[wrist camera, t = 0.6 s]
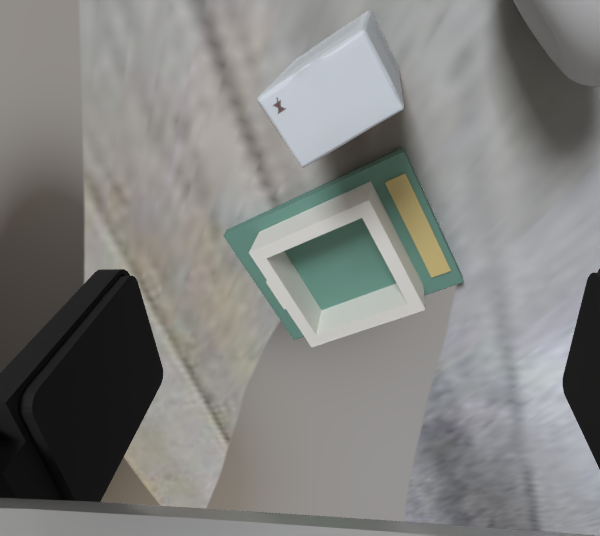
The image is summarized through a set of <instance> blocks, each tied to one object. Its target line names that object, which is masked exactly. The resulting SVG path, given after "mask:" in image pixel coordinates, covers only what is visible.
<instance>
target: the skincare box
mask: <svg viewBox="0 0 600 536" xmlns="http://www.w3.org/2000/svg"><path fill="white" fill-rule="evenodd" d="M257 101H258V103H259V104H260V106H261V107H262V109H263V110H264V112H265V113H266V115H267V116H268V118H269V119H270V120H271V122H272V123H273V125H274V126H275V128H276V129H277V131H278V132H279V134H280V135H281V137H282V138H283V140H284V141H285V143H286V144H287V146H288V147H289V149H290V151H291V152H292V154H293V155H294V157H295V158H296V160H297V161H298V163H299V164H300V166H301V167H305V166H307V165H309V164H311V163H312V162H314V161H316V160H318V159H320V158H321V157H323V156H325V155H327V154H329V153H330V152H332V151H334V150H336V149H337V148H339V147H341V146H342V145H344V144H346V143H347V142H349V141H351V140H352V139H354V138H355V137H357V136H359V135H360V134H362V133H364V132H366V131H367V130H369V129H371V128H372V127H374V126H376V125H378V124H379V123H381V122H383V121H385V120H386V119H388V118H390V117H391V116H393V115H395V114H397V113H398V112H400V111H402V110H403V109H404V101H403V94H402V88H401V81H400V75H399V67H398V65H397V63H396V60H395V58H394V56H393V54H392V52H391V50H390V48H389V46H388V44H387V42H386V40H385V38H384V36H383V34H382V31H381V29H380V27H379V25H378V23H377V21H376V19H375V17H374V15H373V13H372V12H371V11H370V10H368V11H366V12H365V13H363V14H362V15H360V16H359V17H357V18H356V19H354V20H353V21H351V22H350V23H348V24H347V25H345V26H344V27H342V28H341V29H339V30H338V31H336V32H335V33H333V34H332V35H330V36H329V37H327V38H326V39H324V40H323V41H322V42H320V43H319V44H317V45H316V46H314V47H313V48H312V49H310V50H309V51H307V52H306V53H304V54H303V55H301V56H300V57H298V58H297V59H295V60H294V61H293V62H292V63H291V64H290V65H289V66H288V67H287V68H286V69H285V70H284V71H283V72H282V74H281V75H279V76H278V77H277V78H276V79H275V80H274V81H273V82H272V83H271V84H270V85H269V86H268V87H267V88H266V89H265V90H264V91H263V92H262V93H261V94H260V96H259V97H258V98H257Z"/></svg>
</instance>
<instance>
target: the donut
mask: <svg viewBox="0 0 600 536" xmlns="http://www.w3.org/2000/svg"><path fill="white" fill-rule="evenodd" d="M513 1H514V3H515V5H516V7H517V9H518V10H519V12H520V14H521V16H522V17H523V19H524V21H525V22H526V24H527V25H528V27H529V29H530V30H531V32H532V33H533V35H534V36H535V38H536V39H537V41H538V42H539V44H540V45H541V46H542V48H543V49H544V50H545V52H546V53H547V54H548V56H549V57H550V58H551V59H552V61H553V62H554V63H555V64H556V65H557V66H558V68H559V69H560V70H561V71H562V72H563V73H564V74H565V75H566V76H567V77H568V78H569V79H570V80H572V81H574V82H577V83H579V84H581V85H584V86H593V87H597V86H600V0H513Z"/></svg>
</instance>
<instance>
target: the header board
mask: <svg viewBox="0 0 600 536" xmlns="http://www.w3.org/2000/svg"><path fill="white" fill-rule="evenodd" d="M223 236H224V237H225V239H226V240H227V242H228V243H229V245H230V246H231V248H232V249H233V251H234V252H235V254H236V255H237V257H238V258H239V259H240V261H241V262H242V264H243V265H244V267H245V268H246V270H247V271H248V273H249V274H250V276H251V277H252V279H253V280H254V282H255V283H256V285H257V286H258V288H259V289H260V290H261V292H262V293H263V295H264V296H265V298H266V299H267V301H268V302H269V304H270V305H271V307H272V308H273V310H274V311H275V313H276V314H277V316H278V317H279V319H280V320H281V321H282V323H283V324H284V326H285V327H286V329H287V330H288V332H289V333H290V335H291V336H292V338H293V339H294V340H295V339H298V338H301V337H305V338H306V340H307V341H308V343H309V344H310V346H311V347H315V346H318V345H321V344H324V343H327V342H330V341H333V340H336V339H339V338H342V337H345V336H348V335H351V334H354V333H357V332H361V331H363V330H367V329H369V328H373V327H376V326H379V325H382V324H385V323H387V322H391V321H394V320H397V319H400V318H403V317H406V316H409V315H412V314H415V313H418V312H421V311H424V310H426V308H425V298H424V295H427V294H430V293H433V292H436V291H439V290H442V289H445V288H447V287H451V286H453V285H456V284H459V283H462V282H463V277H462V274H461V272H460V270H459V268H458V266H457V263H456V261H455V259H454V257H453V255H452V252H451V250H450V248H449V246H448V244H447V242H446V239H445V237H444V235H443V233H442V231H441V229H440V226H439V224H438V222H437V220H436V218H435V216H434V213H433V211H432V209H431V207H430V205H429V203H428V200H427V198H426V196H425V194H424V192H423V189H422V187H421V185H420V183H419V181H418V179H417V176H416V174H415V172H414V170H413V168H412V166H411V163H410V161H409V159H408V157H407V155H406V153H405V150H404V148H401V149H399V150H397V151H394V152H392V153H390V154H388V155H386V156H384V157H382V158H379V159H377V160H375V161H373V162H371V163H369V164H367V165H365V166H362V167H360V168H358V169H356V170H354V171H352V172H350V173H348V174H345V175H343V176H341V177H339V178H337V179H335V180H333V181H331V182H328V183H326V184H324V185H322V186H320V187H318V188H316V189H313V190H311V191H309V192H307V193H305V194H303V195H301V196H299V197H296V198H294V199H292V200H290V201H288V202H286V203H284V204H282V205H279V206H277V207H275V208H273V209H271V210H269V211H267V212H264V213H262V214H260V215H258V216H256V217H254V218H252V219H250V220H247V221H245V222H243V223H241V224H239V225H237V226H235V227H233V228H230V229H228V230H227V231H226V232H225V234H224V235H223Z"/></svg>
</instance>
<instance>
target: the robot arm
mask: <svg viewBox="0 0 600 536" xmlns="http://www.w3.org/2000/svg"><path fill="white" fill-rule="evenodd" d="M162 379H163V368H162V364H161V361H160V357H159V354H158V350H157V347H156V343H155V340H154V337H153V333H152V330H151V326H150V323H149V319H148V316H147V313H146V309H145V306H144V302H143V299H142V295H141V292H140V289H139V285H138V282H137V279H136V278H135V277H134V276H130V275H129V273H128V272H127V271H126V270H124V269H121V270H98V271H96V272H95V273H94V274H93V275H92V276H91V277H90V278H89V279H88V280H87V282H86V283H85V284H84V285H83V286H82V287H81V288H80V289H79V290H78V291H77V292H76V293H75V294H74V295H73V296H72V298H71V299H70V300H69V301H68V302H67V303H66V304H65V305H64V306H63V307H62V308H61V309H60V310H59V311H58V313H57V314H56V315H55V316H54V317H53V318H52V319H51V320H50V321H49V322H48V323H47V324H46V325H45V326H44V327H43V328H42V329H41V331H40V332H39V333H38V334H37V335H36V336H35V337H34V338H33V339H32V340H31V341H30V342H29V343H28V344H27V346H26V347H25V348H24V349H23V350H22V351H21V352H20V353H19V354H18V355H17V356H16V357H15V358H14V359H13V360H12V361H11V363H10V364H9V365H8V366H7V367H6V368H5V369H4V370H3V371H2V372H1V373H0V536H594V535H582V534H568V533H555V532H541V531H527V530H513V529H499V528H485V527H471V526H457V525H443V524H429V523H416V522H400V521H386V520H371V519H357V518H341V517H327V516H312V515H311V516H310V515H296V514H281V513H266V512H251V511H236V510H219V509H204V508H187V507H171V506H153V505H137V504H121V503H105V502H100V501H101V499H102V497H103V495H104V493H105V492H106V490H107V488H108V486H109V484H110V482H111V480H112V478H113V476H114V474H115V472H116V470H117V468H118V466H119V464H120V462H121V460H122V459H123V457H124V455H125V453H126V451H127V449H128V447H129V445H130V443H131V441H132V439H133V437H134V435H135V433H136V432H137V430H138V428H139V426H140V424H141V422H142V420H143V418H144V416H145V414H146V412H147V410H148V408H149V406H150V404H151V402H152V401H153V399H154V397H155V395H156V393H157V391H158V389H159V387H160V385H161V383H162ZM563 390H564V394H565V396H566V399H567V401H568V403H569V405H570V407H571V409H572V411H573V413H574V416H575V418H576V420H577V422H578V424H579V426H580V428H581V430H582V433H583V435H584V437H585V439H586V441H587V443H588V445H589V447H590V450H591V452H592V454H593V456H594V458H595V460H596V462H597V464H598V467H599V469H600V269H599V271H598V273H592V274H590V275H589V277H588V280H587V283H586V287H585V291H584V295H583V299H582V303H581V307H580V311H579V315H578V319H577V323H576V327H575V331H574V335H573V339H572V343H571V347H570V351H569V355H568V359H567V363H566V367H565V371H564V375H563Z"/></svg>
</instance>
